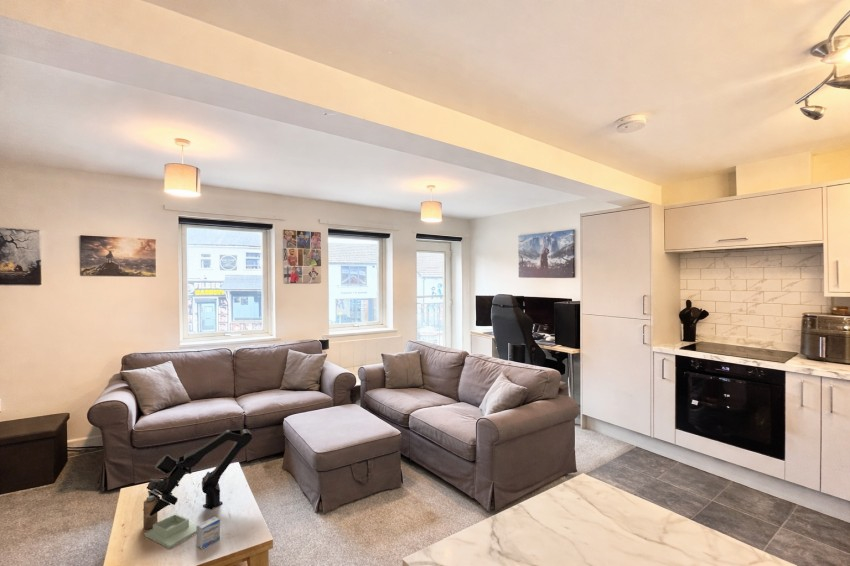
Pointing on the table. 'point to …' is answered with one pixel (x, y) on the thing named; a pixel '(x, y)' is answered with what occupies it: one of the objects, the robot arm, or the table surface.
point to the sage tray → (172, 530)
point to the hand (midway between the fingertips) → (147, 513)
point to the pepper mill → (148, 507)
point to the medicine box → (208, 532)
